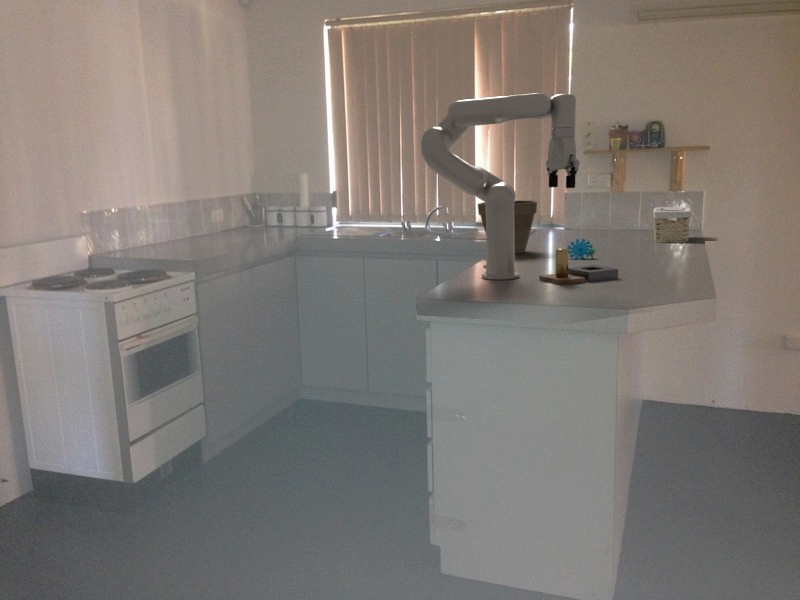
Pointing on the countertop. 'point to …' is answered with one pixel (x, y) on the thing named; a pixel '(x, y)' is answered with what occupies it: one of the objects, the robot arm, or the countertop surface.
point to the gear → (581, 249)
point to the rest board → (562, 279)
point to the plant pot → (517, 221)
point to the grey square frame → (593, 272)
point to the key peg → (561, 263)
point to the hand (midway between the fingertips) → (561, 187)
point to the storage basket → (671, 224)
